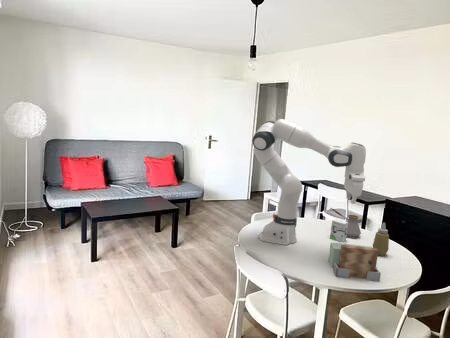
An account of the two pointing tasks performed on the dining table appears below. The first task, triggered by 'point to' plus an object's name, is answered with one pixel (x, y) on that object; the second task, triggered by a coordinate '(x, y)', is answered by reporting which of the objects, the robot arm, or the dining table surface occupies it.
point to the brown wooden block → (358, 260)
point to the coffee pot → (351, 225)
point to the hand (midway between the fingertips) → (350, 200)
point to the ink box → (339, 230)
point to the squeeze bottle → (381, 240)
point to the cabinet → (343, 272)
